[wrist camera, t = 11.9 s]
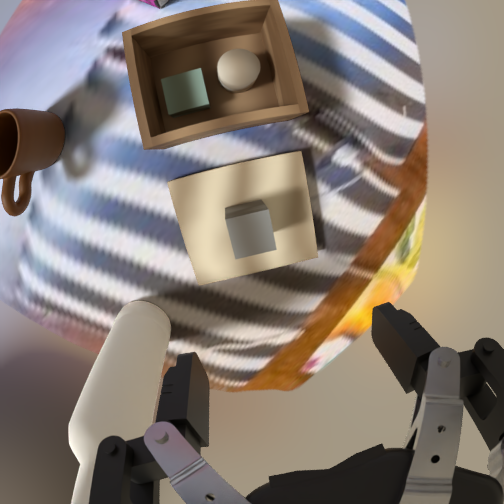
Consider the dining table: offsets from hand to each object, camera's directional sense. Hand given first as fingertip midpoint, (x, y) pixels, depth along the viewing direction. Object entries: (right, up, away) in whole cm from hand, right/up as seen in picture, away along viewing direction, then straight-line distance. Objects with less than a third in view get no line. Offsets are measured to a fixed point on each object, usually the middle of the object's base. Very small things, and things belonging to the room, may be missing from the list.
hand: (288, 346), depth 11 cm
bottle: (-17, -6, +24) cm, 30 cm away
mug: (-28, +16, +14) cm, 35 cm away
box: (-6, +22, +14) cm, 27 cm away
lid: (-2, +8, +20) cm, 21 cm away
